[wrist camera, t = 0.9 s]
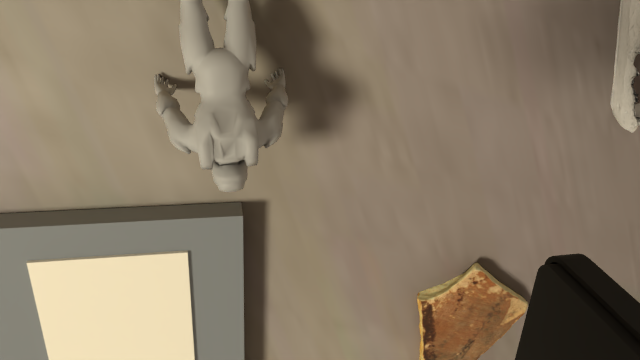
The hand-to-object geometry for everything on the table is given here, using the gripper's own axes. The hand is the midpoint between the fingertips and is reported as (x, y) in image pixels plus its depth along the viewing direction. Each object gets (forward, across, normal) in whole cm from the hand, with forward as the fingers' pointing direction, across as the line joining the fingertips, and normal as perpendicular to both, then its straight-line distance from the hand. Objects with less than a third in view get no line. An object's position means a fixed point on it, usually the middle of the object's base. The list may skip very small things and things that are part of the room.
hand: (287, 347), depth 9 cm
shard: (+21, -16, +19) cm, 33 cm away
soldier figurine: (+20, 0, -1) cm, 20 cm away
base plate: (+20, +7, +17) cm, 27 cm away
